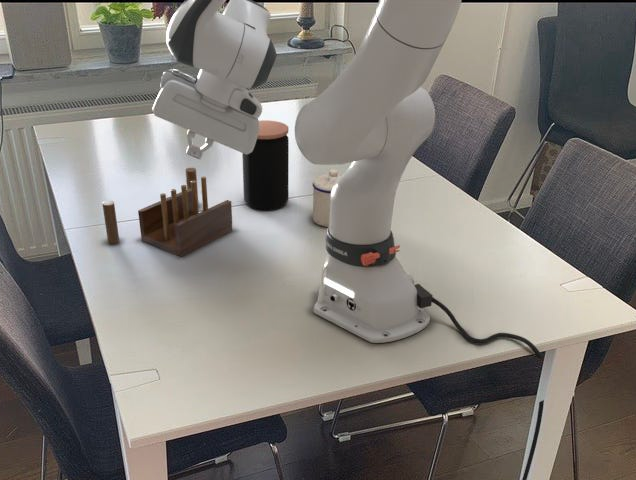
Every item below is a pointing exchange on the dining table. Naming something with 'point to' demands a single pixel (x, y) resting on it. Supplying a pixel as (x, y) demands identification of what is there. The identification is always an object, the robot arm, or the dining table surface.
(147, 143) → the dining table surface
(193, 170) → the marker posts
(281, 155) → the coffee jar
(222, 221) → the plate rack
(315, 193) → the teacup with lid
